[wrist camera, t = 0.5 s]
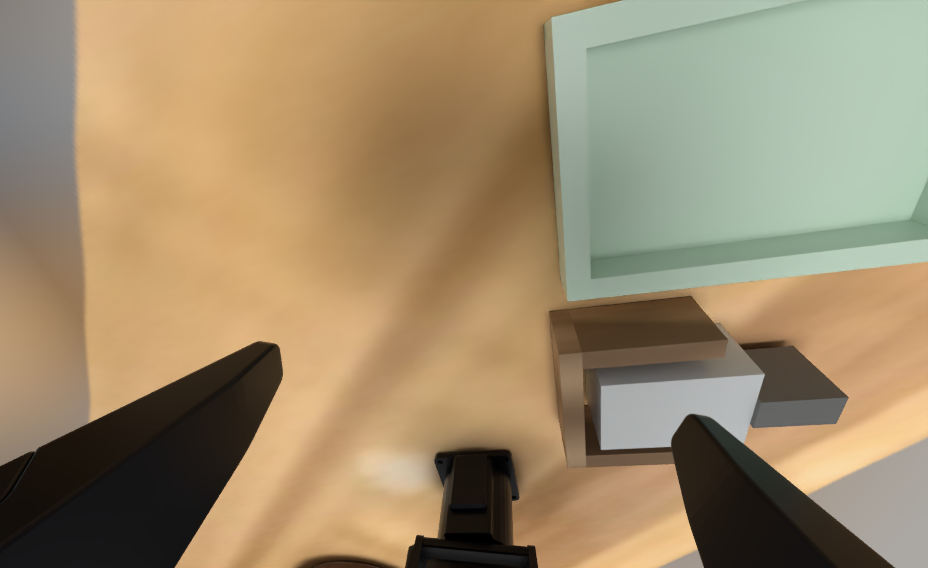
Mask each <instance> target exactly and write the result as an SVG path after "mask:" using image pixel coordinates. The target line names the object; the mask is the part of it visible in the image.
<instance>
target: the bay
mask: <svg viewBox="0 0 928 568" xmlns="http://www.w3.org/2000/svg"><path fill="white" fill-rule="evenodd" d="M549 314H550V325H551V336H552V348H553V359H554V370H555V382H556V393H557V404H558V416H559V423H560V428H561V434H562V440H563V445H564V451H565V456H566V462H567V468H580V467H606V466H632V465H658V464H675V463H674V458H673V454H672V450H671V447H655V448H633V449H610V450H601V448H600V445H599V441H598V437H597V434H596V430H595V426H594V423H593V419H592V416H591V412H590V408H589V405H587V406H584V392H583V369H595V368H607V367H620V366H632V365H644V364H657V363H669V362H681V361H694V360H706V359H718V358H724V357H725V353H726V348H727V344H728V339H727V338H726V336H725V335H724V334H723V333H722V332H721V331H720V329H719V328H718V327H717V326H716V325H715V324H714V322H713V321H712V320H711V319H710V318H709V317H708V316H707V314H706V313H705V312H704V311H703V310H702V309H701V307H700V306H699V305H698V304H697V303H696V302H695V300H694V299H693V298H692V297H691V296H690V297H680V298H671V299H662V300H653V301H643V302H634V303H625V304H616V305H606V306H597V307H588V308H579V309H569V310H560V311H551V312H549Z"/></svg>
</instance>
